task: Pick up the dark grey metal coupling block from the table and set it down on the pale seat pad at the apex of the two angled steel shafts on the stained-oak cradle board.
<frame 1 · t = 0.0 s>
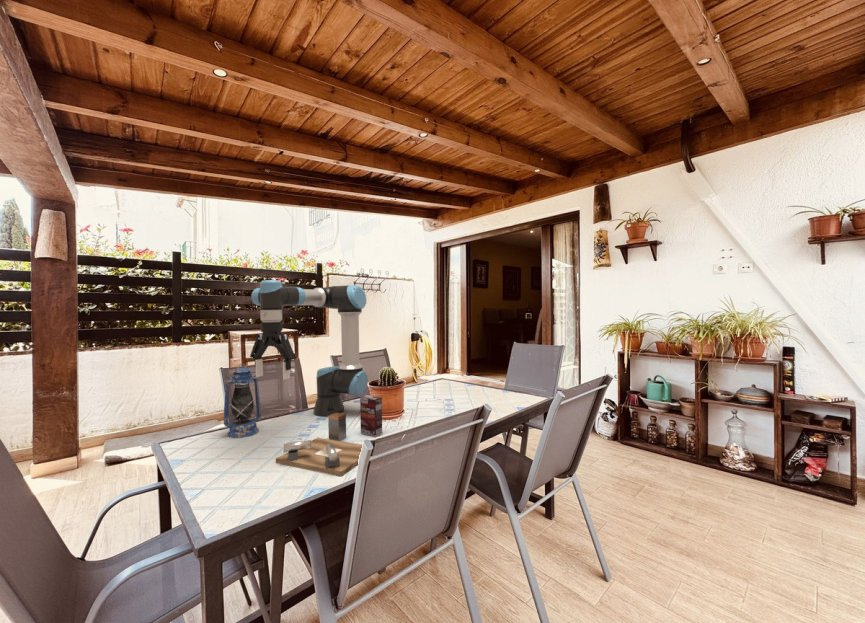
hand: (272, 377, 141), 28 cm above the table, fingers open, 13 cm apart
supplement box: (371, 434, 159), on the table
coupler: (337, 439, 153), on the table
cradle board: (328, 456, 136), on the table
shaft 2: (331, 468, 126), resting on cradle board
lantern: (243, 433, 162), on the table
shaft 1: (297, 461, 132), resting on cradle board
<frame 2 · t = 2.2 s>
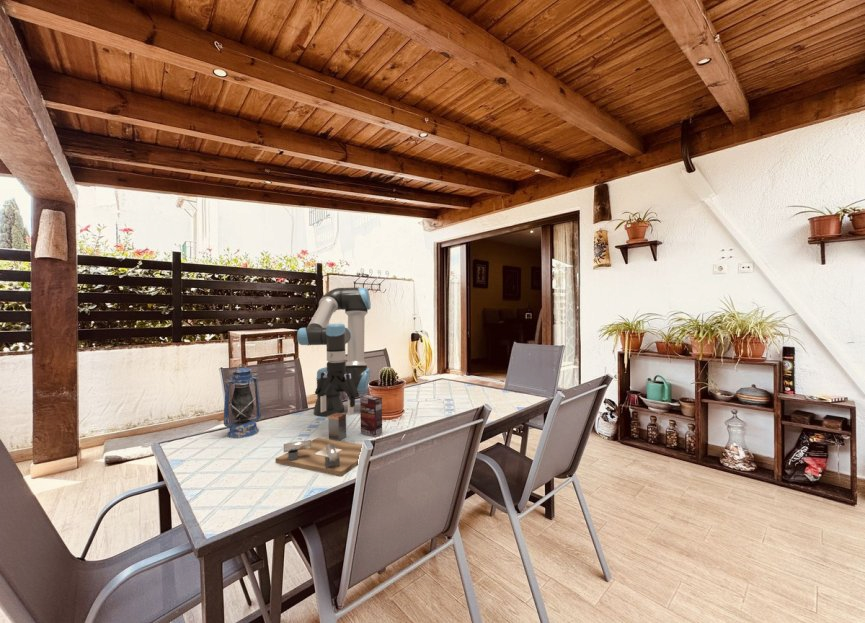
hand: (336, 413, 153), 11 cm above the table, fingers open, 13 cm apart
nothing on the table moved.
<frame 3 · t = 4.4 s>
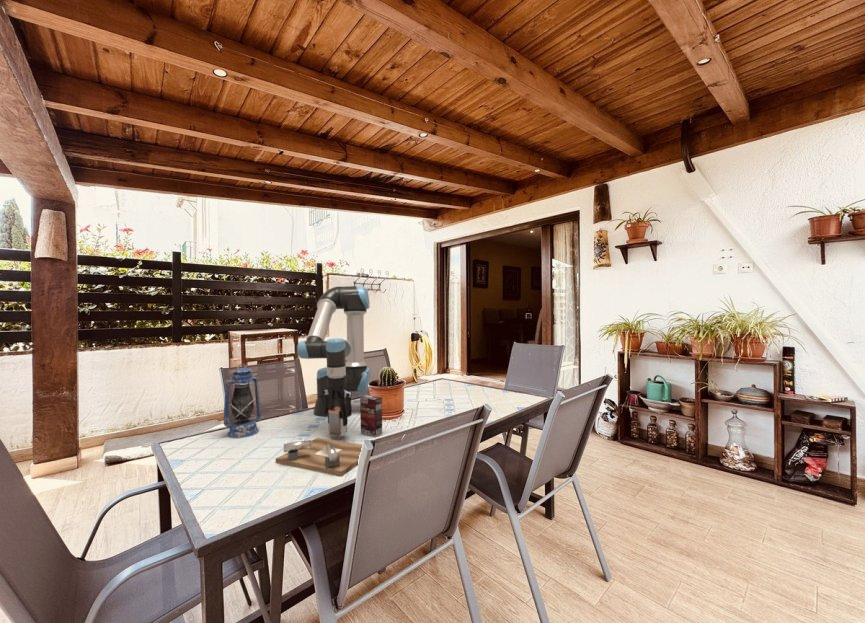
hand: (337, 432, 154), 3 cm above the table, fingers closed on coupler, 5 cm apart
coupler: (338, 432, 154), point 2 cm above the table, touching gripper
everything else where it was.
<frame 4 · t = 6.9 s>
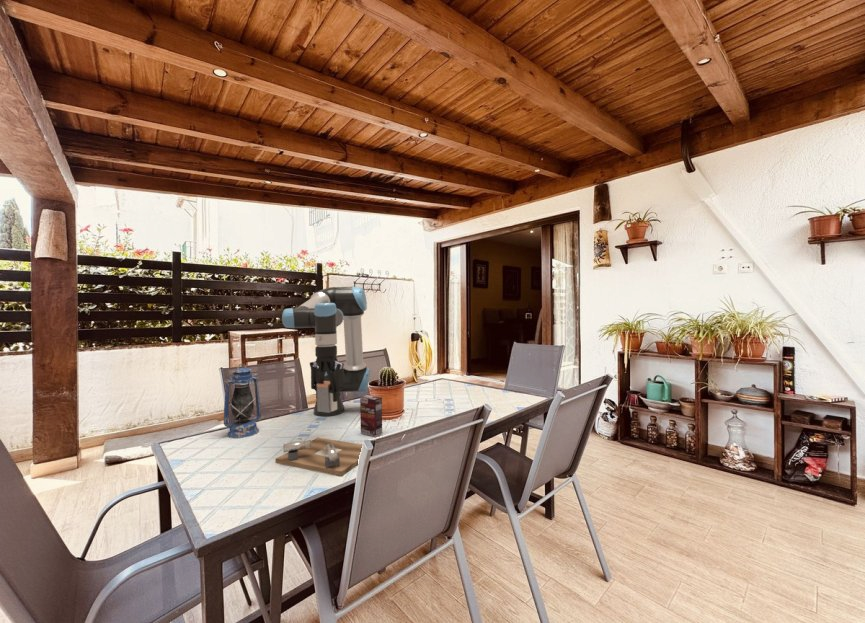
hand: (327, 409, 135), 17 cm above the table, fingers closed on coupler, 5 cm apart
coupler: (327, 410, 135), point 17 cm above the table, touching gripper
everything else where it was.
when the fingers open (3 cm above the table, at t = 9.6 s): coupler drops 1 cm, resting on cradle board.
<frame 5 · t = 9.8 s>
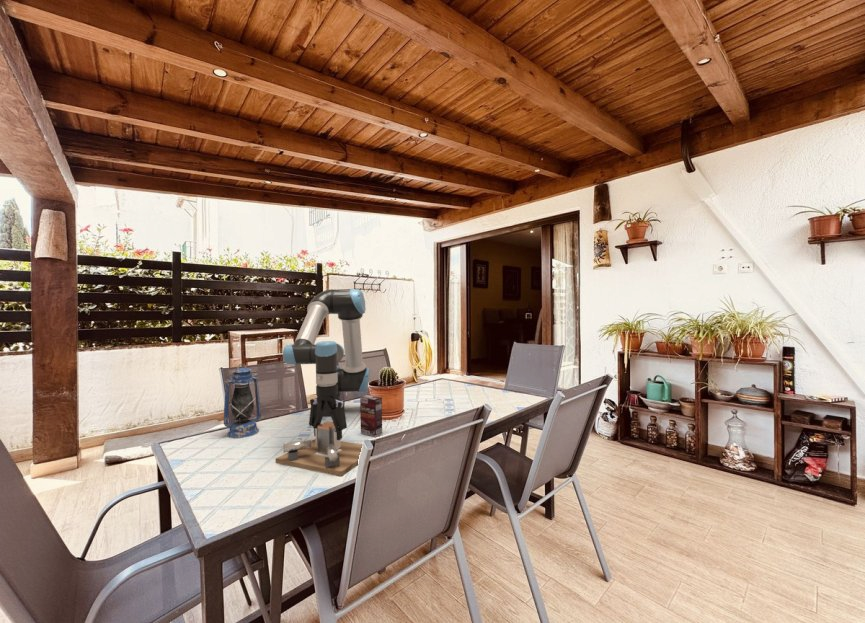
hand: (328, 446, 135), 4 cm above the table, fingers open, 8 cm apart
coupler: (328, 451, 136), point 2 cm above the table, touching cradle board
everything else where it was.
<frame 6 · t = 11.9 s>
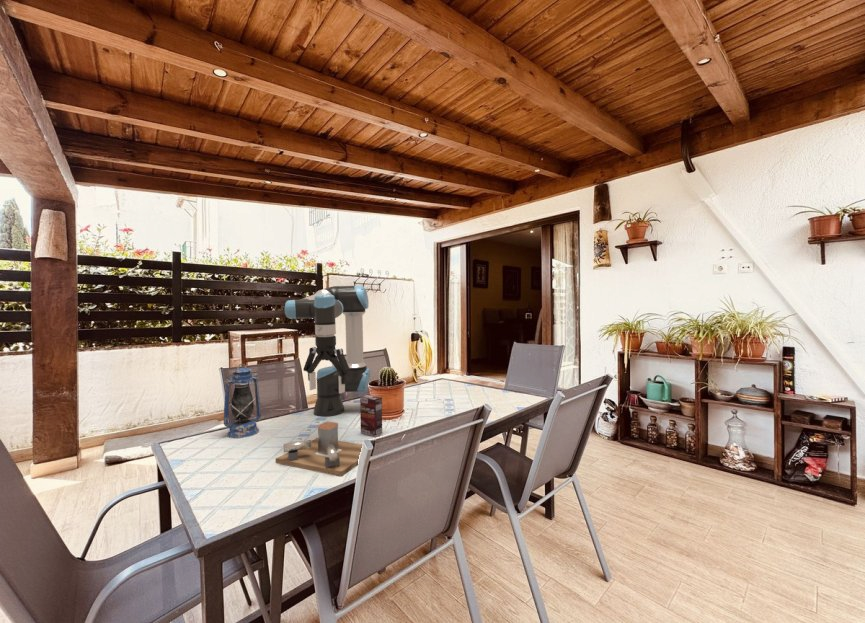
hand: (327, 390, 142), 22 cm above the table, fingers open, 13 cm apart
nothing on the table moved.
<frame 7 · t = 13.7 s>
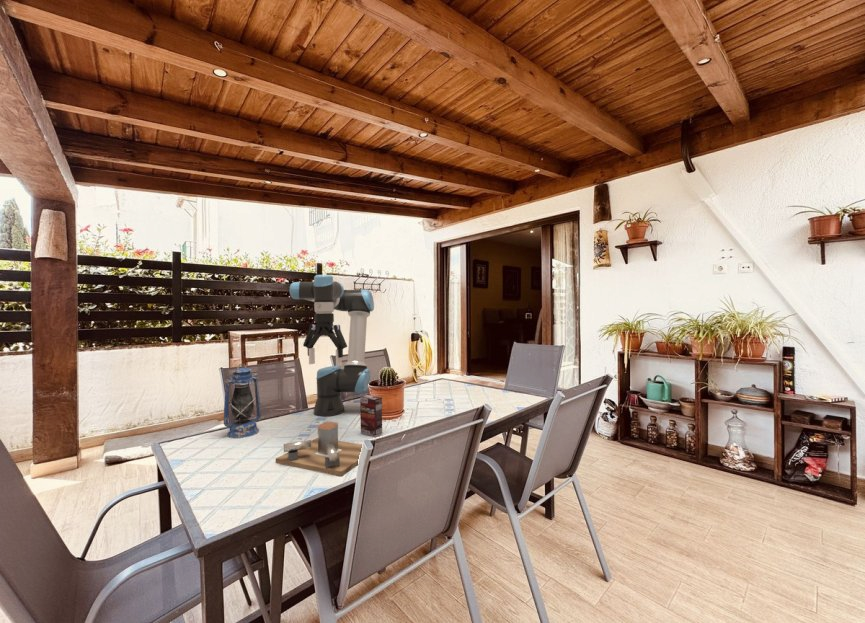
hand: (325, 364, 152), 31 cm above the table, fingers open, 13 cm apart
nothing on the table moved.
at the end: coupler 0.2 cm off-centre on the cradle board, point 1.8 cm above the cradle board's base; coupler tilted 0°; the gripper is holding nothing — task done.
